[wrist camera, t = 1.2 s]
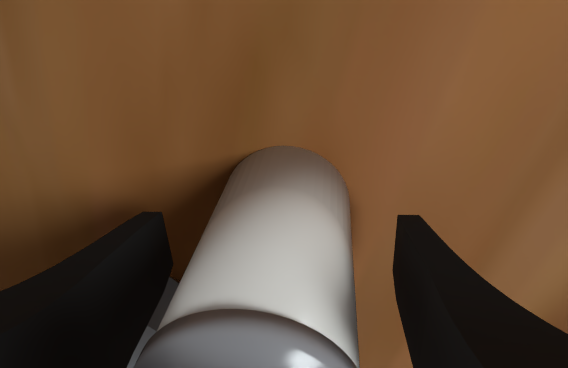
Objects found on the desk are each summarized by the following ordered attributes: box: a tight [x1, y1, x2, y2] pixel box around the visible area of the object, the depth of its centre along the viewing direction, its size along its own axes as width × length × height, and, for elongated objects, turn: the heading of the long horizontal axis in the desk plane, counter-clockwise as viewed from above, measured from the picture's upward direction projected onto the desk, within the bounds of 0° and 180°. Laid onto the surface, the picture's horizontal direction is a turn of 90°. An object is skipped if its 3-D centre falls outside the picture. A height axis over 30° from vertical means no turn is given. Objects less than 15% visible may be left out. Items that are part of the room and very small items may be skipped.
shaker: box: [134, 146, 359, 368], centre depth 11 cm, size 5×5×8 cm
